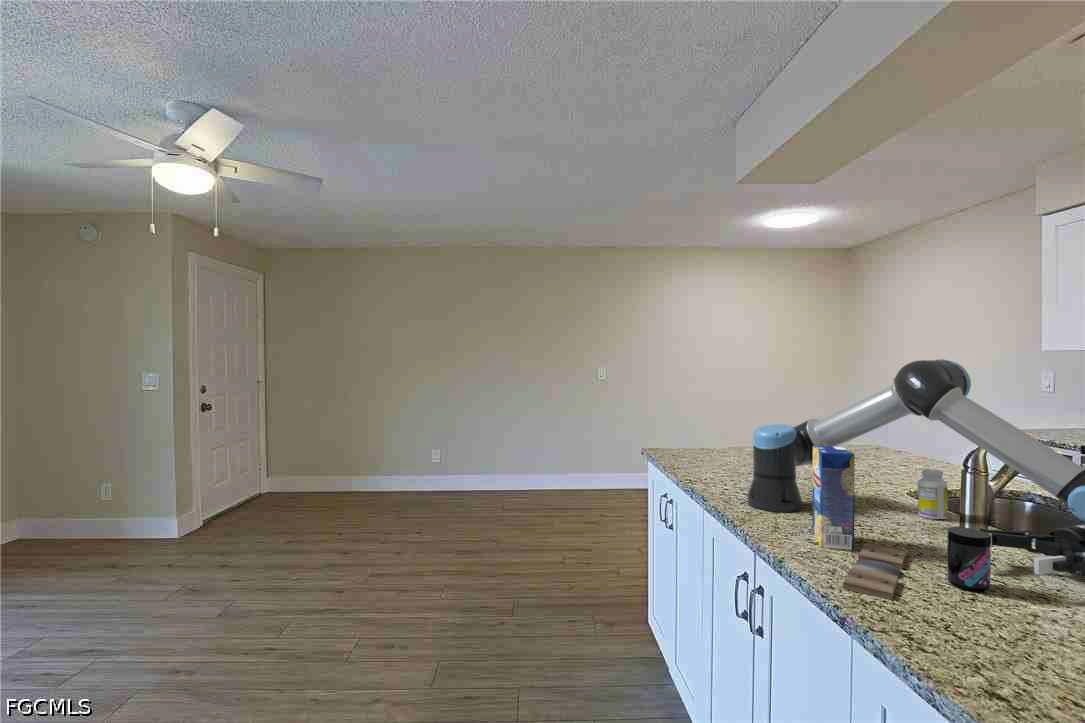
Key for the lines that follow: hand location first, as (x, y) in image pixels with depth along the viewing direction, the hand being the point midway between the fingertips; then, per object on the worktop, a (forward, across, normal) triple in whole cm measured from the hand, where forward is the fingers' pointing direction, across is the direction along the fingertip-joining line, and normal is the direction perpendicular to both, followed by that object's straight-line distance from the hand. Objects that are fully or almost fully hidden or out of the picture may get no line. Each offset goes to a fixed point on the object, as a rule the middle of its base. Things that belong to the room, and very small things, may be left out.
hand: (998, 553), depth 109 cm
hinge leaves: (+18, +11, -6) cm, 21 cm away
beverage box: (+13, +29, -6) cm, 32 cm away
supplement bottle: (-28, +39, -6) cm, 48 cm away
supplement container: (+7, 0, -6) cm, 9 cm away
